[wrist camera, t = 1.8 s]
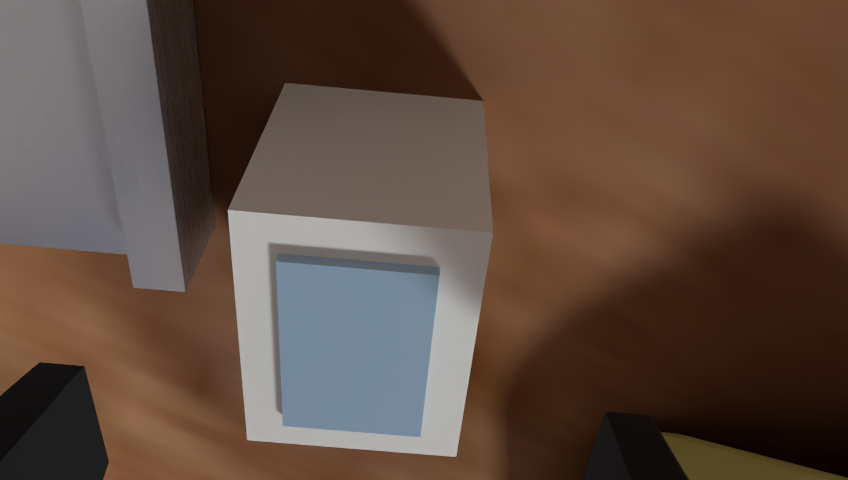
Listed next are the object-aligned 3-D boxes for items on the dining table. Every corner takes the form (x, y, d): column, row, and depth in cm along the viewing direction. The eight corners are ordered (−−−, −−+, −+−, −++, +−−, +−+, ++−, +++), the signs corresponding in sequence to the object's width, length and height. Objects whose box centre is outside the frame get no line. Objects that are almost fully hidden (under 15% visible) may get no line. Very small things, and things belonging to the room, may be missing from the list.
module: (291, 284, 17) (244, 448, 13) (285, 81, 14) (223, 217, 11) (455, 298, 17) (456, 466, 13) (483, 99, 14) (493, 240, 11)
